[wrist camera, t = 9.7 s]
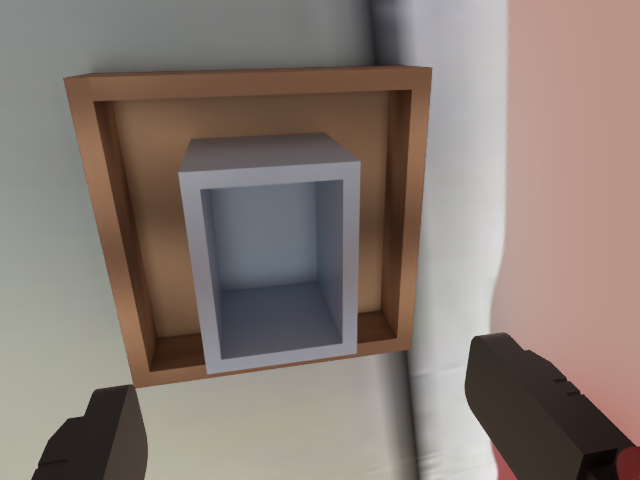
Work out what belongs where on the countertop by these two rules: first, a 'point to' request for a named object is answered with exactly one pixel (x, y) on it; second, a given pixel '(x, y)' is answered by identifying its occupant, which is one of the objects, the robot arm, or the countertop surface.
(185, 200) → the grey open bin
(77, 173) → the countertop surface
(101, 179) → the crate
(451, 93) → the countertop surface
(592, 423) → the robot arm
